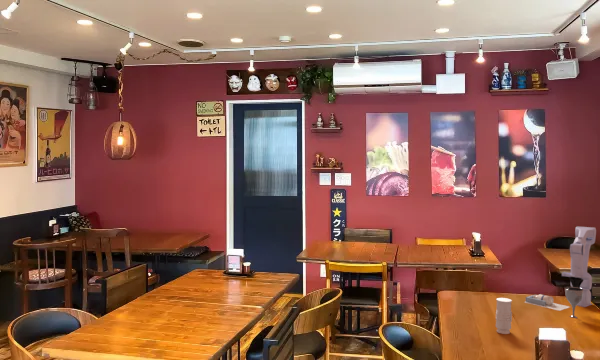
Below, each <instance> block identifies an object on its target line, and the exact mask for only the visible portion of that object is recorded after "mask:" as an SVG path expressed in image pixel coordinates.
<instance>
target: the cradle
mask: <svg viewBox="0 0 600 360" xmlns="http://www.w3.org/2000/svg"><path fill="white" fill-rule="evenodd" d="M534 295H535V294H532V295H530V296H525V301H524V303H525V304H530V305H534V306H538V307H542V308H545V309H550V310H551V309H552V310H554V311H559V312H560V311H563V310H566V309H569V308H570V306H569V305H565V304H564V305H563V304H560V303H555V302H553V304H552V305H547V304H546V301H543V300H538V299H534V298H533V296H534Z"/></svg>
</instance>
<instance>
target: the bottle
mask: <svg viewBox="0 0 600 360" xmlns="http://www.w3.org/2000/svg"><path fill="white" fill-rule="evenodd" d="M533 295H534V296H533V298H534V299H538V300H543V301H546V304H547V305H552V304H553V303H554V297H553V296H549V295H545V294H541V293H540V294H539V293H538V294H533Z"/></svg>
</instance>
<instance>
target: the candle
mask: <svg viewBox="0 0 600 360" xmlns="http://www.w3.org/2000/svg"><path fill="white" fill-rule="evenodd" d="M512 302H513V300H512V299H510V298H507V297H497V298H496V310H495V327H496V332H497V333H498V334H503V335H508V334H509V335H510V333H511V332H510V330H511V329H512V321H513V317H512V316H513V312H512Z"/></svg>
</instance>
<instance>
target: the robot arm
mask: <svg viewBox="0 0 600 360" xmlns="http://www.w3.org/2000/svg"><path fill="white" fill-rule="evenodd" d="M574 234H575V235H574V236H575V239H574V241H573V243H571V244H570V245H569V252H570V253H569V255H570V272H567V271H566V272H565V271H563V272H561V277H568V278H569V281H570V287H577V288H581V289H583V297H582V300H581V301H580V302H579V303H578V304H577V305H576V307H577V306H578V307H582V308H586V307H589V306H591V305H593V303H591V301H592V292H591V291H590V290H592V286H593V284H592V283H593V276H592V275H591V274H590V273H589V272H588V266H589V265H588V264H589V257H590V250H591V246H592V245H594V244H595V242H596V235H597V229H596V227H595V226H594V227H593V226H592V227H591V226H590V227H589V226H588V227H587V226H578V225H577V226H576V227H575V231H574Z"/></svg>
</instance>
